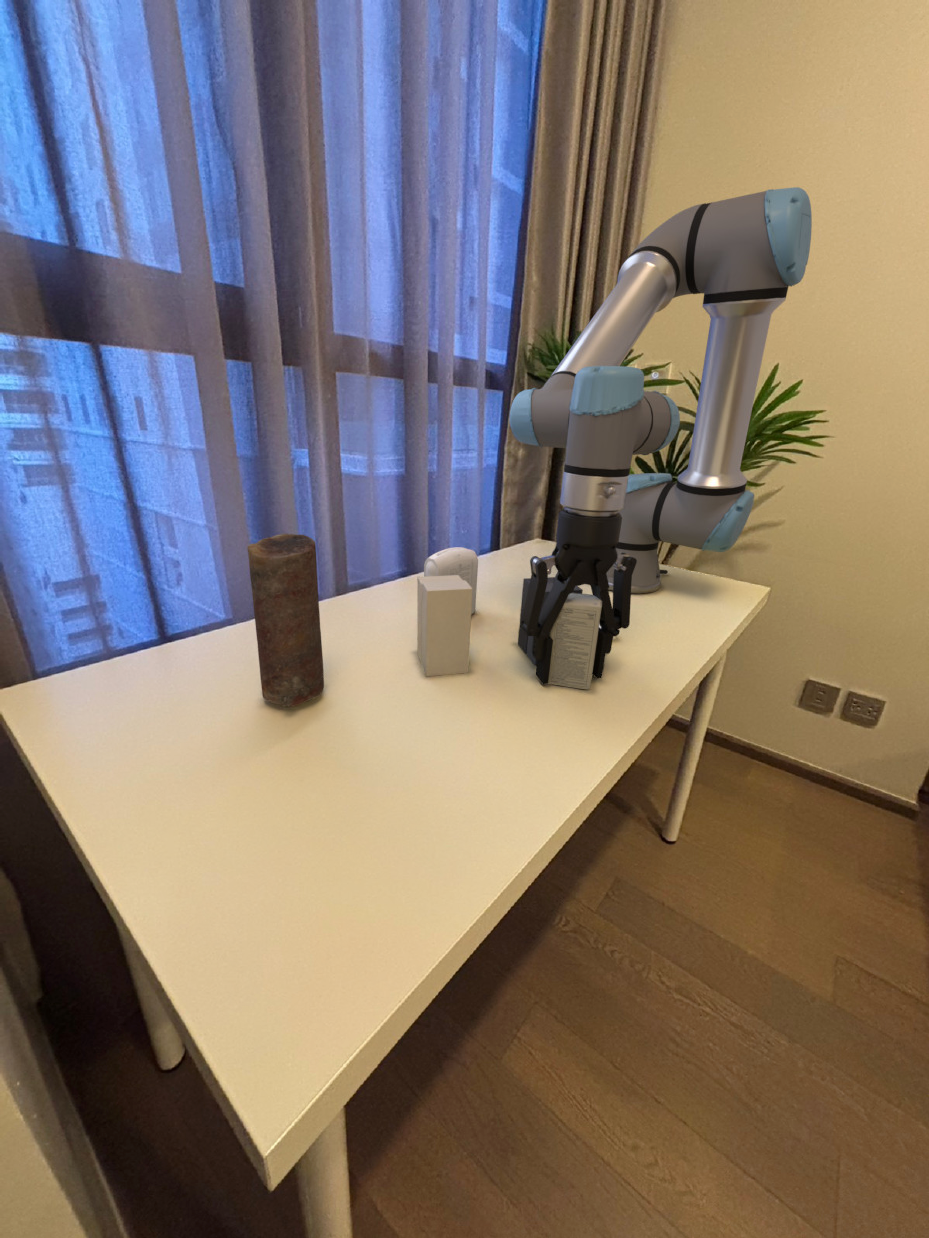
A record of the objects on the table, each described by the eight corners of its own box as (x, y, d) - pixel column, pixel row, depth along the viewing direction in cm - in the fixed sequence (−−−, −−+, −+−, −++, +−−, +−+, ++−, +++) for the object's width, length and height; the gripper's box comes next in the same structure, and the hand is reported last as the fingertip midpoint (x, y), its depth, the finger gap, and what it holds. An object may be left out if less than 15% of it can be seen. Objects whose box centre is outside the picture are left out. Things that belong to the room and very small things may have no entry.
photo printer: (462, 606, 93) (465, 541, 89) (479, 613, 91) (482, 546, 86) (419, 620, 87) (419, 550, 82) (435, 628, 84) (436, 556, 79)
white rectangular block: (456, 649, 77) (458, 571, 72) (468, 672, 71) (472, 588, 66) (417, 652, 76) (417, 573, 71) (426, 676, 69) (427, 590, 64)
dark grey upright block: (552, 641, 81) (560, 573, 76) (572, 662, 75) (582, 589, 70) (517, 644, 80) (523, 575, 75) (534, 666, 73) (542, 591, 69)
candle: (339, 693, 64) (328, 539, 56) (294, 721, 58) (275, 553, 51) (296, 676, 68) (281, 529, 60) (250, 701, 62) (226, 541, 54)
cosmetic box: (591, 676, 71) (604, 595, 66) (589, 691, 67) (603, 607, 62) (546, 669, 72) (556, 589, 68) (542, 683, 69) (552, 600, 64)
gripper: (523, 517, 55) (508, 698, 64) (682, 515, 60) (648, 682, 69) (501, 504, 61) (490, 670, 70) (646, 503, 66) (619, 657, 75)
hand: (568, 676), depth 70 cm, fingers closed on cosmetic box, 7 cm apart
